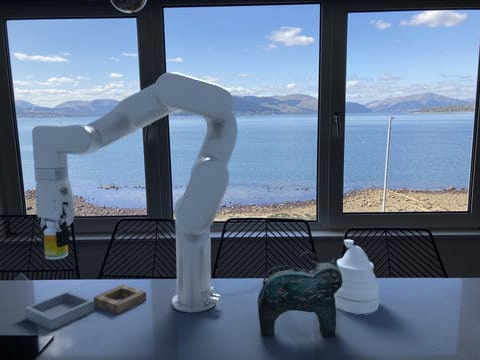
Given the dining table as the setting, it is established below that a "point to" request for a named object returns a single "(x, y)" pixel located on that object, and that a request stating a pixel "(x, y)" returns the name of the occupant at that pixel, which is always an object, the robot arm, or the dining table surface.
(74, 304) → the tray
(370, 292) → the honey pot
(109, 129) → the robot arm
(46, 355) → the dining table surface
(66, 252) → the supplement bottle
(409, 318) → the dining table surface
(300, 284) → the green animal figurine
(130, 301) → the socket block
